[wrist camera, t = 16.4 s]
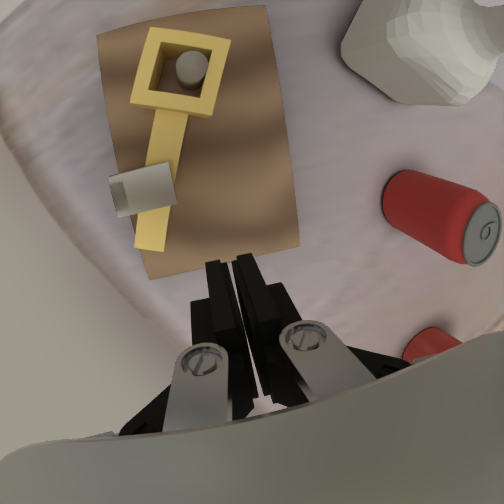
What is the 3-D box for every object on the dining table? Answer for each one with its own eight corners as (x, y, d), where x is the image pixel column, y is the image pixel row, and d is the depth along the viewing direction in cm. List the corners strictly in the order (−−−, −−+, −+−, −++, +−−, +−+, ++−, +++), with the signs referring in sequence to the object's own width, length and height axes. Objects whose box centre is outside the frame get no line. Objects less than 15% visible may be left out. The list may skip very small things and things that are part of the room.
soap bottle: (360, -7, 22) (545, -78, 1) (427, 47, 25) (610, 40, 4) (326, 60, 24) (560, 8, 4) (400, 112, 27) (611, 147, 7)
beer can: (429, 211, 33) (506, 249, 22) (388, 237, 33) (462, 287, 22) (417, 159, 30) (503, 184, 19) (372, 184, 30) (456, 218, 19)
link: (156, 45, 20) (150, 26, 15) (222, 56, 21) (231, 40, 17) (120, 236, 25) (108, 260, 21) (182, 245, 27) (182, 270, 22)
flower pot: (439, 360, 44) (471, 395, 36) (387, 383, 43) (418, 426, 34) (453, 309, 40) (494, 344, 31) (398, 331, 39) (439, 375, 30)
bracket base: (100, 39, 20) (76, 14, 13) (261, 10, 21) (284, -20, 15) (150, 273, 29) (143, 313, 22) (295, 240, 30) (324, 271, 24)
